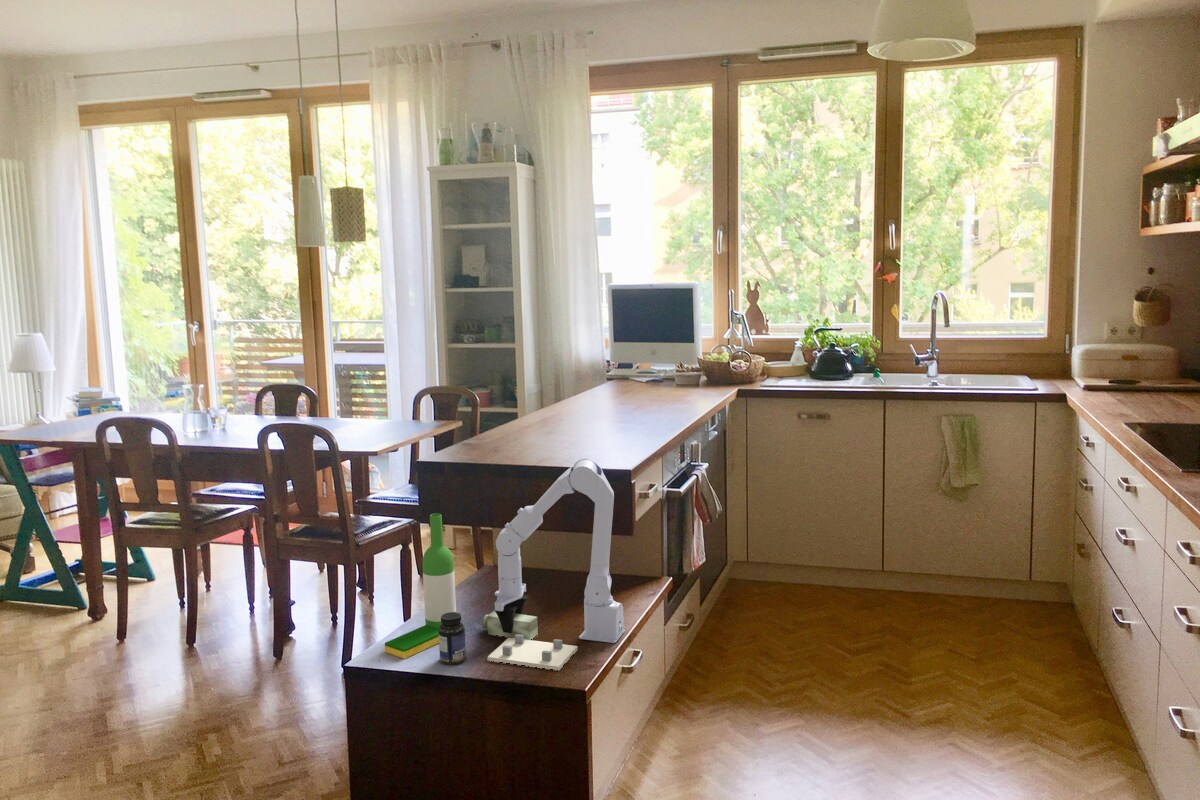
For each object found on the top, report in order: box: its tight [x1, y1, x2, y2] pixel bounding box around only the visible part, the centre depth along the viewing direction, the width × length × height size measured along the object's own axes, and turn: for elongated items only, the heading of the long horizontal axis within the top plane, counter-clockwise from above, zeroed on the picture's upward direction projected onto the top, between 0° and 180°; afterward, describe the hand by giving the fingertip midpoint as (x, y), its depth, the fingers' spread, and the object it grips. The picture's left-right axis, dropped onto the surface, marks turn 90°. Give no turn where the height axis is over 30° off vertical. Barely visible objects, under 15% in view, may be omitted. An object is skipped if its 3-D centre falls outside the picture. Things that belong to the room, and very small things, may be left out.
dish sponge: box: [384, 624, 439, 660], centre depth 238 cm, size 7×14×2 cm, turn 143°
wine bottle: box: [421, 513, 457, 629], centre depth 245 cm, size 8×8×30 cm
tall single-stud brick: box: [481, 610, 539, 640], centre depth 244 cm, size 14×4×5 cm, turn 67°
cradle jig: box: [486, 634, 578, 672], centre depth 231 cm, size 18×12×3 cm, turn 71°
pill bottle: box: [438, 611, 467, 666], centre depth 229 cm, size 6×6×11 cm
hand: (511, 628), depth 244 cm, fingers open, 4 cm apart
